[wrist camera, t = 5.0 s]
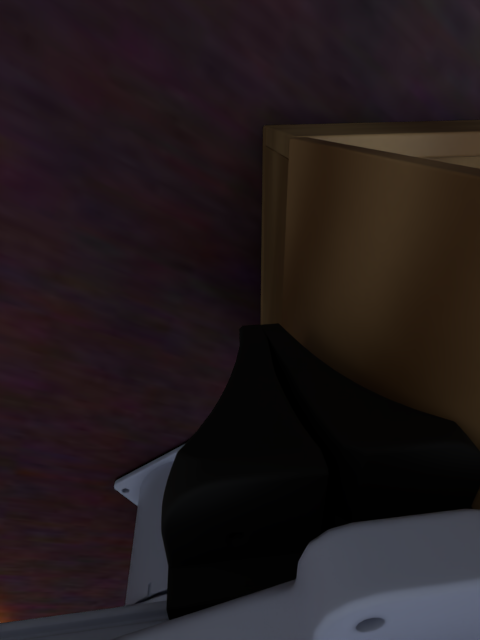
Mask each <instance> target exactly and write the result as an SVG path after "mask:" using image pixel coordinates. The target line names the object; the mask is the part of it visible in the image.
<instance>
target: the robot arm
mask: <svg viewBox="0 0 480 640" xmlns="http://www.w3.org/2000/svg"><path fill="white" fill-rule="evenodd" d="M239 330H240V347H239V351H238V355H237V359H236V363H235V366H234V368H233V371H232V374H231V377H230V379H229V381H228V383H227V386H226V388H225V390H224V392H223V394H222V395H221V397H220V399H219V401H218V402H217V404H216V406H215V407H214V409H213V410H212V412H211V413H210V415H209V416H208V417H207V419H206V420H205V421H204V423H203V424H202V425H201V427H200V428H199V429H198V431H197V432H196V433H195V434H194V435H193V436H192V437H191V438H190V439H189V440H188V441H187V443H185V444H184V445H182V446H180V447H178V448H176V449H174V450H172V451H170V452H168V453H167V454H165V455H163V456H161V457H159V458H157V459H155V460H153V461H152V462H150V463H148V464H146V465H144V466H142V467H140V468H138V469H136V470H135V471H133V472H131V473H129V474H127V475H125V476H123V477H121V478H119V479H118V480H116V481H115V484H114V488H115V489H116V490H117V491H118V492H120V493H121V494H122V495H124V496H125V497H126V498H128V499H129V500H130V501H132V502H133V503H134V504H135V505H137V506H138V509H137V517H136V524H135V532H134V540H133V548H132V556H131V563H130V571H129V579H128V587H127V595H126V602H125V605H124V606H123V607H116V608H109V609H102V610H94V611H87V612H80V613H72V614H65V615H58V616H50V617H43V618H36V619H29V620H21V621H14V622H7V623H0V640H480V509H473V508H472V507H471V505H472V503H473V501H474V499H475V496H476V494H477V492H478V490H479V488H480V451H479V449H478V448H477V447H476V446H475V444H474V443H473V442H472V441H471V440H470V438H469V437H468V436H467V435H466V434H465V432H464V431H463V430H462V429H461V428H460V427H459V426H458V425H457V424H456V422H454V421H451V420H448V419H444V418H441V417H438V416H435V415H431V414H428V413H425V412H422V411H419V410H416V409H413V408H410V407H408V406H405V405H403V404H400V403H397V402H395V401H392V400H390V399H388V398H385V397H383V396H381V395H379V394H377V393H375V392H373V391H371V390H369V389H367V388H364V387H363V386H361V385H359V384H357V383H355V382H353V381H352V380H350V379H348V378H347V377H345V376H343V375H342V374H340V373H338V372H337V371H335V370H334V369H332V368H331V367H330V366H328V365H327V364H325V363H324V362H323V361H321V360H320V359H319V358H317V357H316V356H315V355H314V354H312V353H311V352H310V351H309V350H307V349H306V348H305V347H304V346H303V345H302V344H300V343H299V342H298V341H297V340H296V339H295V338H294V337H293V336H292V335H291V334H289V333H288V332H287V331H286V330H285V329H284V328H283V327H282V326H281V325H280V324H279V323H276V324H263V325H249V326H242V327H241V328H240V329H239Z"/></svg>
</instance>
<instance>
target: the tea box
mask: <svg viewBox="0 0 480 640" xmlns="http://www.w3.org/2000/svg"><path fill="white" fill-rule="evenodd" d="M293 137H309V138H315V139H320V140H326V141H331V142H336V143H342V144H347V145H353V146H358V147H364V148H369V149H375V150H380V151H386V152H391V153H397V154H402V155H407V156H413V157H418V158H424V159H429V160H435V161H440V162H446V163H451V164H457V165H462V166H468V167H473V168H479V169H480V120H457V121H418V122H378V123H338V124H299V125H265V126H263V167H262V249H261V325H263V324H276V323H279V324H280V325H281V322H282V299H283V277H284V254H285V231H286V208H287V185H288V163H289V140H290V138H293Z"/></svg>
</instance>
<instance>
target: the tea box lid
mask: <svg viewBox="0 0 480 640" xmlns="http://www.w3.org/2000/svg"><path fill="white" fill-rule="evenodd" d="M281 326H282V327H283V328H284V329H285V330H286V331H287V332H288V333H289V334H291V335H292V336H293V337H294V338H295V339H296V340H297V341H298V342H299V343H300V344H302V345H303V346H304V347H305V348H306V349H307V350H309V351H310V352H311V353H312V354H314V355H315V356H316V357H317V358H319V359H320V360H321V361H323V362H324V363H325V364H327V365H328V366H330V367H331V368H332V369H334V370H335V371H337V372H338V373H340V374H342V375H343V376H345V377H347V378H348V379H350V380H352V381H353V382H355V383H357V384H359V385H361V386H363V387H364V388H367V389H369V390H371V391H373V392H375V393H377V394H379V395H381V396H383V397H385V398H388V399H390V400H392V401H395V402H397V403H400V404H403V405H405V406H408V407H410V408H413V409H416V410H419V411H422V412H425V413H428V414H431V415H435V416H438V417H441V418H444V419H448V420H451V421H454V422H456V424H457V425H458V426H459V427H460V428H461V429H462V430H463V431H464V432H465V434H466V435H467V436H468V437H469V438H470V440H471V441H472V442H473V443H474V444H475V446H476V447H477V448H478V449H479V451H480V169H479V168H473V167H468V166H462V165H457V164H451V163H446V162H440V161H435V160H429V159H424V158H418V157H413V156H407V155H402V154H397V153H391V152H386V151H380V150H375V149H369V148H364V147H358V146H353V145H347V144H342V143H336V142H331V141H326V140H320V139H315V138H309V137H293V138H290V140H289V163H288V185H287V208H286V231H285V254H284V277H283V299H282V322H281ZM471 507H472V508H473V509H480V488H479V490H478V492H477V494H476V496H475V499H474V501H473V503H472V505H471Z"/></svg>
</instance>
